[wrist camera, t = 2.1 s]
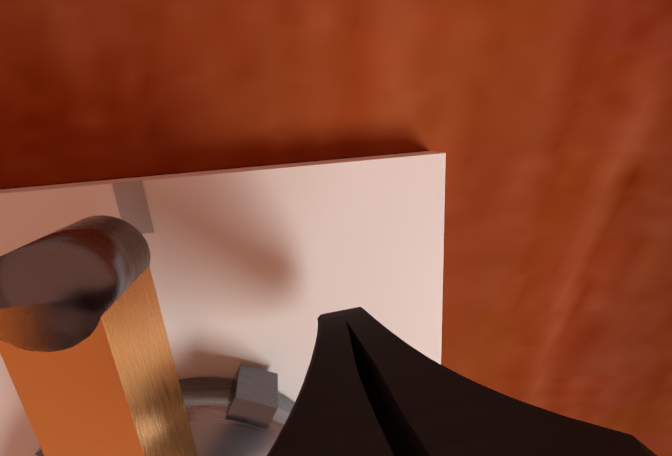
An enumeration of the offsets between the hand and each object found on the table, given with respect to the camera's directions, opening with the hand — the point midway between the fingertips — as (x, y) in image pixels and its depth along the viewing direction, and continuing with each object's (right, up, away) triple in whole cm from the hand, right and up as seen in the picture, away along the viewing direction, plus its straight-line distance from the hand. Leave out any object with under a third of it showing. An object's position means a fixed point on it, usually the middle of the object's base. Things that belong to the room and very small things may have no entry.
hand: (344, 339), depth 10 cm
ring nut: (-6, -4, +2) cm, 7 cm away
